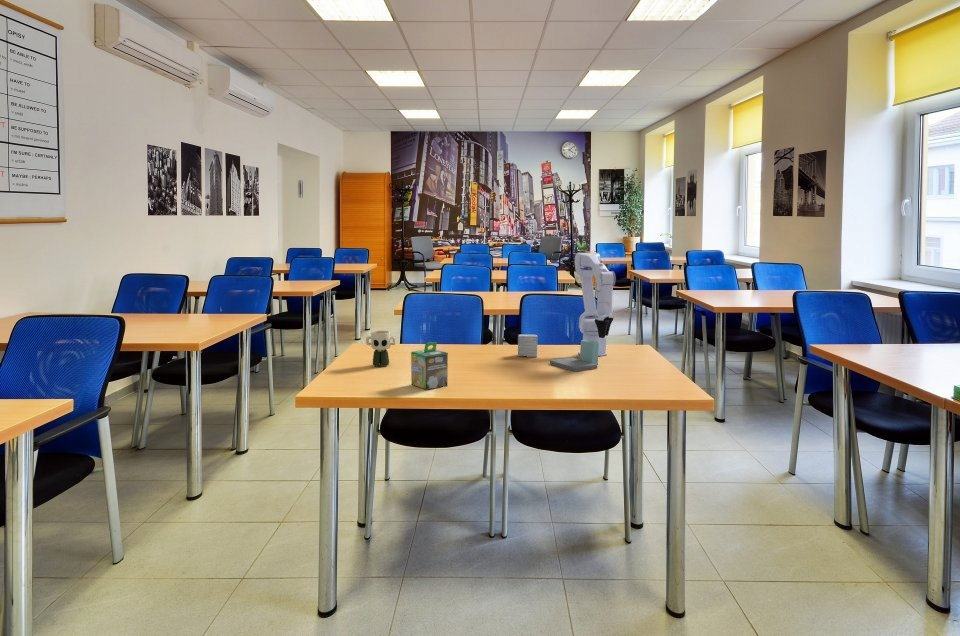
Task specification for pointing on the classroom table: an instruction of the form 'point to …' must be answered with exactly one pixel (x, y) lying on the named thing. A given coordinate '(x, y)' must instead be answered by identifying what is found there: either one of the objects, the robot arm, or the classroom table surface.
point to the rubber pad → (573, 364)
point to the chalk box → (429, 367)
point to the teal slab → (589, 351)
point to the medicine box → (527, 345)
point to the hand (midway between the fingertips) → (603, 336)
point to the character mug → (380, 346)
